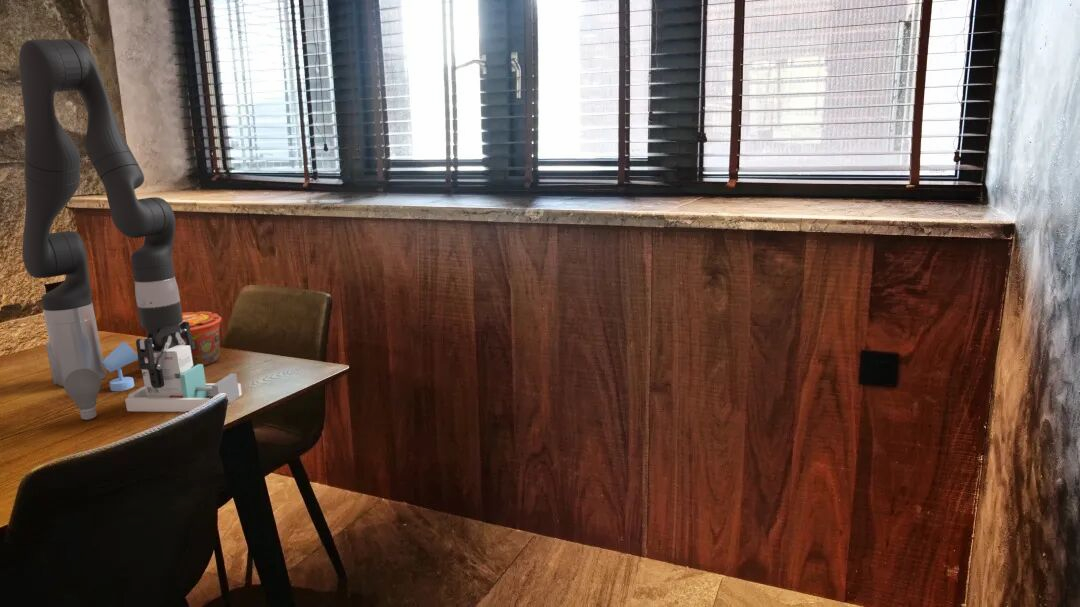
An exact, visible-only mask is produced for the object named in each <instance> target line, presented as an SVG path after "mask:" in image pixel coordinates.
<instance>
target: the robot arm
mask: <svg viewBox="0 0 1080 607" xmlns="http://www.w3.org/2000/svg"><path fill="white" fill-rule="evenodd" d="M18 66H19V67H18V68H19V77H20V78H19V79H20V87H21V88H20V89H21V94H22V102H23V103H22V105H23V111H24V112H23V113H24V183H25V186H24V187H25V215H24V224H23V225H24V226H23V235H22V247H21V248H22V249H21V251H22V252H21V254H22V260H23V266H24V268H25V271H26V272H27V273H28V275H30V277H32V278H35V279H47V278H54V277H61V276H65V279H64V280H63V281H62V282H61V283H60V284H59V285H58V286H56V287H55V288H54V289H52V290H50V291H48V292H46V293H44V294H43V295H42V296H41V298H40V302H41V308H42V312H43V316H44V322H45V328H46V332H47V337H48V341H47V342H46V343H45V349H46V354H47V358H48V363H49V368H50V369H49V370H50V374H51V378H52V383H53V385H58V386H59V387H63V388H64V382H65V380H66V378H67V376H68V375H69V374H70V373H71V372H73V371H75V370H78V369H90V370H92V371H94V372H95V373H96V374H97V375H98V376H99V377H100V379H101V381H102V380H104V379H105V378H106V376H107V374H106V368H105V367H104V365H103V364H102V361H103V360H104V358H103V353H102V347H101V342H100V337H99V331H98V326H97V320H96V316H95V311H94V310H95V309H94V304H93V299H92V287H91V286H92V285H91V281H90V274H89V273H90V272H89V264H88V257H87V251H86V247H85V246H86V245H85V243H84V241H83V239H82V237H81V235H80V234H79V233H78V232H76V231H72V230H67V231H56V232H51V231H50V230H51V229H52V225H53V224H54V221H55V219H56V218H57V216H58V215H59V214H60V212H61V211H62V210H63V209H64V208H65V207H66V206H67V204H68V203H69V202H70V200H71V199H72V198H73V197H74V195H75V194H76V192H77V190H78V188H79V186H80V182H81V153H80V151H79V149H78V147H77V145H76V144H75V142H74V140H73V139H72V137H71V136H70V135H69V134H68V133H67V131H66V130H65V129H64V128H63V126H62V124H61V123H60V122H59V120H58V118H57V116H56V112H55V111H56V110H55V102H54V101H55V95H56V93H58V92H59V93H60V92H61V93H62V92H72V91H77V93H79V95H80V96H81V98H82V100H83V102H84V103H85V107H86V111H87V127H86V134H85V135H86V137H85V138H86V139H85V147H86V151H87V152H86V153H87V156H88V158H89V161H90V162H91V165H92V166H93V168H94V171H96V174H97V175H98V177H99V179H100V180H101V182H102V184H103V185H104V189H105V194H106V199H107V202H108V208H109V212H110V215H111V216H110V217H111V220H112V222H113V225H114V226H115V227H116V228H117V229H118V231H119V232H120V233H121V234H123V235H124V236H126V237H128V238H130V239H131V238H132V239H138V238H144V241H143V245H142V246H141V247H139V248H138V249H136V250H134V251H133V252H132V253H131V255H130V261H131V269H132V275H133V280H134V294H135V296H134V297H135V300H136V308H137V312H138V317H139V319H138V320H139V324H140V327H141V328H143V329H145V330H146V337H145V338H137V339H135V346H136V354H137V356H138V368H139V370H142V369H145V370H148V371H149V376H150V382H151V385H152V387H153V388H161V387H163V386H164V379H163V373H162V369H161V366H162V362H163V359H165V358H166V355H167V352H166V351H168V349H170V348H172V347H175V346H177V345H190V348H191V349H193V341H192V336H191V331H190V326H189V322H184V321H183V316H182V313H183V311H182V305H181V297H180V290H179V287H178V283H177V280H176V276H175V270H174V263H173V256H172V255H173V249H174V240H175V231H176V217H175V213H174V212H175V211H174V209H173V208H172V206H171V205H170V203H169V202H168V201H166V200H165V199H163V198H161V197H159V196H158V197H156V196H152V197H146V198H137V196H136V195H137V194H136V189H138V188H140V187H141V186H142V185H143V184H144V182H145V174H144V173H143V171H142V169H141V167H140V165H139V163H138V162H137V159H136V157H135V156H134V154H133V152H132V151H131V148H130V146H129V145H128V143H127V140H126V138H125V137H124V135H123V133H122V131H121V127H120V125H119V123H118V121H117V117H116V115H115V111H114V108H113V106H112V102H111V101H110V98H109V94H108V92H107V89H106V86H105V83H104V81H103V78H102V75H101V73H100V71H99V70H100V69H99V67H98V64H97V63H96V61H95V58H94V56H93V55H92V53H91V51H90V50H89V48H88V47H87V46H86V45H85V44H84V43H83V42H81V41H79V40H76V39H72V38H71V39H70V38H57V39H56V38H53V39H51V38H50V39H49V38H45V39H44V38H42V39H29V40H26V41H24V42H23V44H22V45H21V47H20V50H19V56H18ZM117 229H116V230H117ZM183 339H186V340H187V343H185V342H184V340H183ZM154 350H155V351H161V352H160V353H153V351H154ZM144 357H146V358H148V359H147V363H145V358H144ZM154 359H157V361H156V363H155V362H154Z"/></svg>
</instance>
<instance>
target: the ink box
mask: <svg viewBox="0 0 1080 607" xmlns="http://www.w3.org/2000/svg"><path fill="white" fill-rule="evenodd" d="M160 352H161V351H155V350H154V351H153V353H160ZM166 352H167V355H166V358H165V359H163V362H162V366H161V369H162V373H163V379H164V386H163V387H161V388H153V387H152V385H151V382H150V376H149V371H148V370H145V369H141V374H142V379H143V383H144V385H143V386H145V390H146V396H147V398H183V393H182V387H181V381H180V374H182V373H184V372H186V371H187V370H189V369H191V368H193V367H194V366H193V360H192V354H191V348H190V345H177V346H175V347H172V348H170V349H168V351H166ZM144 358H145V363H147V359H148V358H146V357H144ZM156 361H157V359H154V362H155V363H156Z"/></svg>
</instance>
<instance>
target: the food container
mask: <svg viewBox="0 0 1080 607" xmlns="http://www.w3.org/2000/svg"><path fill="white" fill-rule="evenodd" d="M182 316H183V321H184V322H189V326H190V331H191V336H192V341H193V349H191V354H192V360H193V366H196V365H198V364H203V368H204V367H207V366H211V365H213V364H215V363H216V362H218V361H219V360H220V358H221V356H220V355H221V349H220V347H221V346H220V345H221V343H220V338H221V337H220V325H221V323H222V321H223V320H222V317H221V316H220V315H219V314H218V313H215V312H214V313H213V312H212V311H201V310H200V311H197V312H193V311H188V312H186V311H185V312H182ZM183 340H184V342H185V343H187V340H186V339H183Z"/></svg>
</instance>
